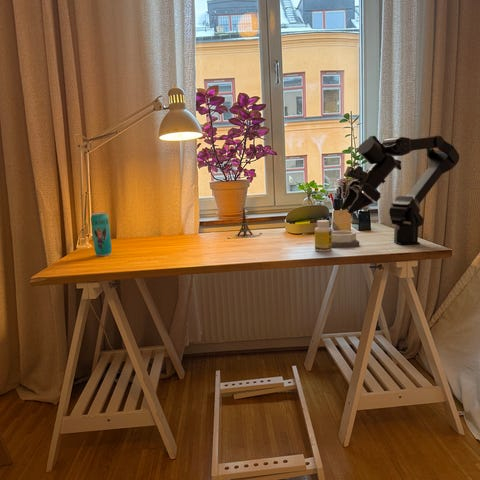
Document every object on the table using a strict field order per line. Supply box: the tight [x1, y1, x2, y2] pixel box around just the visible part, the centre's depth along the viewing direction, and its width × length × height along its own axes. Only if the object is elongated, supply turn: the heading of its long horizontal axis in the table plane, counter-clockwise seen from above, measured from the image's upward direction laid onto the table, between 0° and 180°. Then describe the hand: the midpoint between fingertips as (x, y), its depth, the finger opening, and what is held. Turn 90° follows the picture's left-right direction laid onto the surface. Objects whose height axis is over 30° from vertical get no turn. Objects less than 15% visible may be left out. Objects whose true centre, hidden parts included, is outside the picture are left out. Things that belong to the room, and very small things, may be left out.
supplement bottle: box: [314, 219, 333, 253], centre depth 128 cm, size 5×5×10 cm
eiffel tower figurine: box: [236, 206, 263, 239], centre depth 164 cm, size 15×10×13 cm
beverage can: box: [90, 211, 113, 257], centre depth 139 cm, size 6×6×15 cm
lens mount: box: [332, 230, 360, 248], centre depth 137 cm, size 10×10×4 cm
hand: (345, 210), depth 127 cm, fingers open, 9 cm apart
